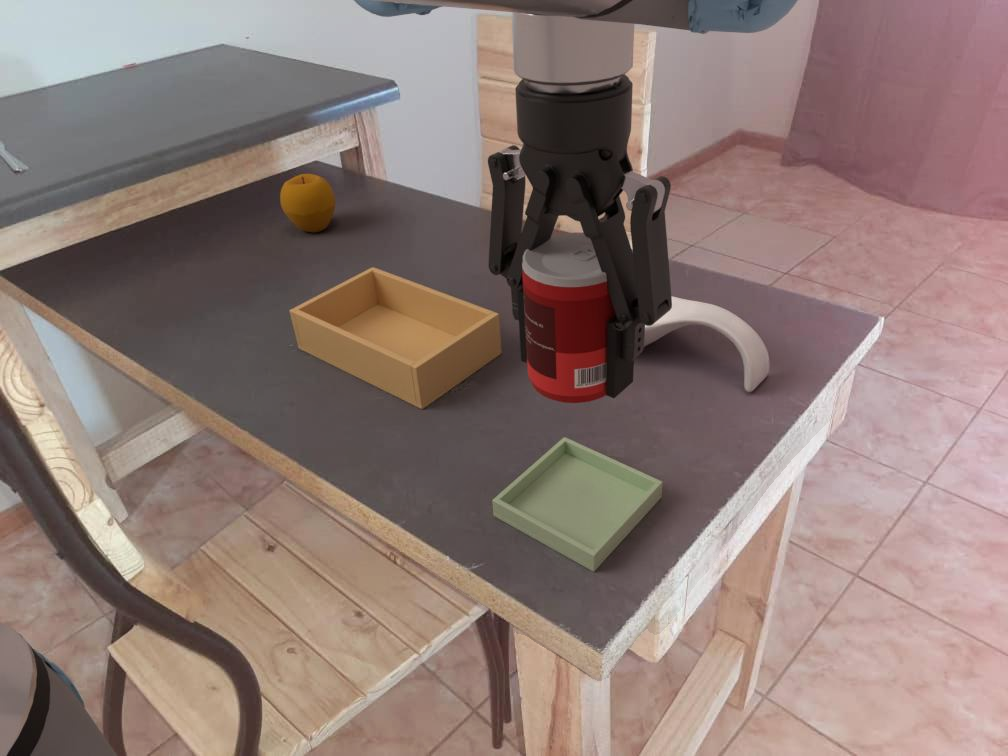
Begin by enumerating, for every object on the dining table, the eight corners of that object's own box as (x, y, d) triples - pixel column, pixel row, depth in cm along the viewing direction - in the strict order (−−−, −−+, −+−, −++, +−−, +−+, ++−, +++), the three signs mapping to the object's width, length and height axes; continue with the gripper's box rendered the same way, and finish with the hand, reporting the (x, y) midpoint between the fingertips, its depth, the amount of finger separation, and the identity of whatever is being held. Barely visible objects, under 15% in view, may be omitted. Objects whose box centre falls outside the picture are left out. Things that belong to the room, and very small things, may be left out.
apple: (288, 221, 130) (277, 170, 125) (340, 215, 131) (330, 163, 126) (286, 242, 123) (273, 189, 118) (340, 235, 124) (329, 182, 119)
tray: (593, 572, 65) (594, 555, 63) (493, 516, 71) (491, 500, 69) (661, 497, 71) (662, 481, 70) (564, 452, 77) (564, 436, 76)
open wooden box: (501, 353, 93) (499, 313, 90) (422, 409, 84) (416, 368, 81) (379, 303, 105) (372, 266, 101) (298, 348, 96) (288, 310, 93)
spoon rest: (553, 344, 94) (552, 292, 90) (606, 303, 101) (607, 253, 97) (738, 412, 81) (746, 354, 77) (783, 360, 88) (793, 305, 84)
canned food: (639, 364, 64) (646, 241, 58) (596, 417, 58) (597, 288, 52) (558, 342, 67) (555, 224, 61) (509, 389, 62) (501, 266, 56)
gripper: (751, 81, 46) (714, 391, 59) (489, 48, 57) (506, 315, 71) (689, 115, 42) (664, 442, 55) (418, 72, 53) (450, 352, 66)
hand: (575, 370), depth 63 cm, fingers closed on canned food, 8 cm apart
